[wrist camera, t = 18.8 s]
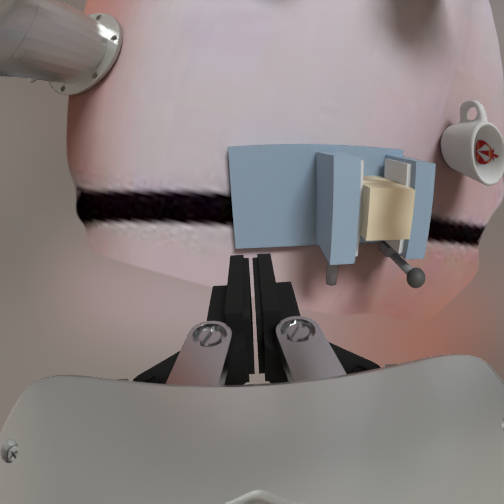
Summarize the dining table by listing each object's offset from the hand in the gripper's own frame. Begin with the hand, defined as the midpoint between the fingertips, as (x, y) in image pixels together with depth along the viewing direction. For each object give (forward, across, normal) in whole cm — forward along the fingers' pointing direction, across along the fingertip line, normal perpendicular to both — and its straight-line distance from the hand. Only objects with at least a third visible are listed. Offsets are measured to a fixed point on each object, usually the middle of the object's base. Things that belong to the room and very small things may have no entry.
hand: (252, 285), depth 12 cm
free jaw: (+19, -9, +3) cm, 22 cm away
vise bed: (+21, -9, +2) cm, 23 cm away
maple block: (+20, -13, +1) cm, 24 cm away
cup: (+21, -29, -8) cm, 37 cm away
